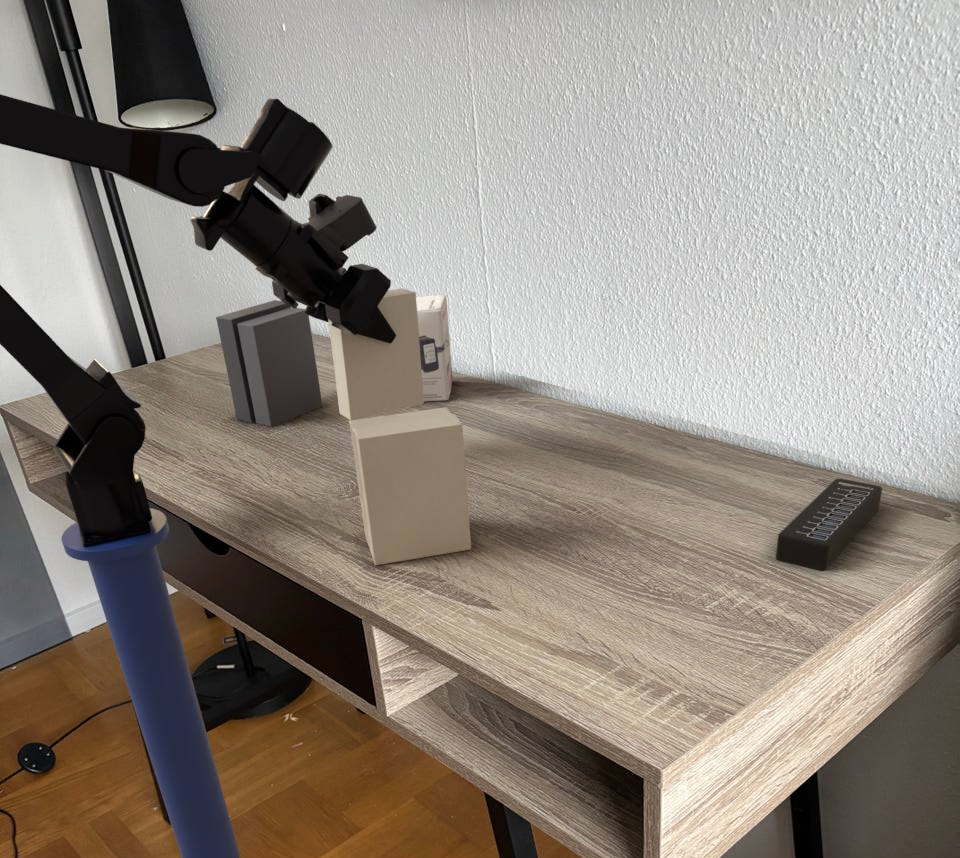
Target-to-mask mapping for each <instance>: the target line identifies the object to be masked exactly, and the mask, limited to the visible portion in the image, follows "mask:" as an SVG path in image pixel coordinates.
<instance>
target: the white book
mask: <svg viewBox="0 0 960 858" xmlns="http://www.w3.org/2000/svg"><path fill="white" fill-rule="evenodd" d="M416 297H417V293H416V291H412V290H409V289H407V288H404V287H400V288H396V289H388V291H387V293H386V294H385V296H384V297H383V299H382V300H381V302H380V303H379V305H378V308H379V310H380V311H381V313H382V314H383V316H384V317H385V319H386V320H387V322H388V323H389V325H390V326H391V328H392V329H393V331H394V332H395V334H396V337H395V339H394V340H393V342H392V343H387V342H383V341H380V340H376V339H373V338H369V337H365V336H362V335H358V334H357V335H353V334H350V333H348V332H346V331H343V330H340V329H338V328H336V327H334V326H332V325H331V324H332V322H331V321H330V320H329V319H328V321H329V322H328V329H329V336H330V345H331V353H332V354H331V355H332V359H333V360H332V361H333V371H334V377H335V378H334V379H335V385H336V387H335V388H336V394H337V395H336V396H337V403H338V410H339V414H340V415H341V416H343V417H344V418H346V419H347V420H349V421H351V420H358V419H365V418H369V417H372V416H377V415H381V414H386V413H390V412H394V411H400V410H404V409H408V408H409V409H410V408H414V407H418V406H422V405H425V401H424V399H423V385H422V371H421V358H420V344H419V330H418V316H417V303H416Z"/></svg>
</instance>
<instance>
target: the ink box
mask: <svg viewBox="0 0 960 858" xmlns="http://www.w3.org/2000/svg"><path fill="white" fill-rule="evenodd" d="M447 301H448V300H447V295H445V294H436V295H426V296H416V303H417V316H418V330H419V344H420V358H421V371H422V385H423V399H424V402H439V401H441V402H443V401H449V399H450V395H451V391H452V386H453V382H454V381H453V369H452V367H453V366H452V354H451V342H450V341H451V339H450V338H451V337H450V325H449V324H450V323H449V313H448V302H447Z"/></svg>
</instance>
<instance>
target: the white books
mask: <svg viewBox="0 0 960 858" xmlns="http://www.w3.org/2000/svg"><path fill="white" fill-rule="evenodd" d="M348 423H349V430H350V437H351V444H352V452H353V457H354V458H353V459H354V466H355V471H356V472H355V474H356V479H357V480H356V481H357V487H358V488H357V489H358V495H359V501H360V509H361V516H362V523H363V524H362V525H363V531H364V537H365V540H366V543H367V545H368V549H369V551H370V555H371V557H372V560H373V563H374V566H381V565H386V564H392V563H398V562H399V563H400V562H404V561H410V560H411V561H412V560H417V559H422V558H429V557H434V556H440V555H446V554H453V553H458V552H464V551H468V550H469V551H470V550H472V539H471V525H470V513H469V498H468V483H467V471H466V457H465V443H464V431H463V428H464V427H463V423H462V422H461V420H460V419H459V418H458V416H457V415H456V414H455V413H451V411H450V410H449V408H448V407H446V406H445V407H438V408H431V409H424V410H417V411H409V412H401V413H395V414H387V415H381V416H374V417H364V418H360V419H355V420H349V421H348Z"/></svg>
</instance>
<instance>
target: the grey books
mask: <svg viewBox="0 0 960 858" xmlns="http://www.w3.org/2000/svg"><path fill="white" fill-rule="evenodd" d="M305 309H306V308H301V307H297V308H296V309H295V308H292V307H290V306H288V305H286V304H285V303H284V302H282V301H281V300H276V299H273V300H270V301H266V302H263V303H260V304H256V305H252V306H249V307H246V308H243V309H239V310H236V311H232V312H229V313H225V314H223V315H222V314H221V315H219V316H216V324H217V329H218V333H219V339H220V344H221V350H222V354H223V359H224V364H225V368H226V373H227V378H228V383H229V387H230V393H231V397H232V402H233V407H234V412H235V413H234V414H235V417H236V420H238V421H242V422H246V423H252V424H253V423H256V424H259V425H263V426H266V427H267V426H268V427H275V426H277V425H279V424H282V423H284V422H287V421H290V420H292V419H294V418H297V417H299V416H302V415H305V414H306V413H309V412H312V411H313V410H317V409H319V408H321V407H324V406H323V399H322V392H321V387H320V380H319V373H318V367H317V361H316V354H315V348H314V342H313V335H312V329H311V321H310V316H309V315H307V314H305Z"/></svg>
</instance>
